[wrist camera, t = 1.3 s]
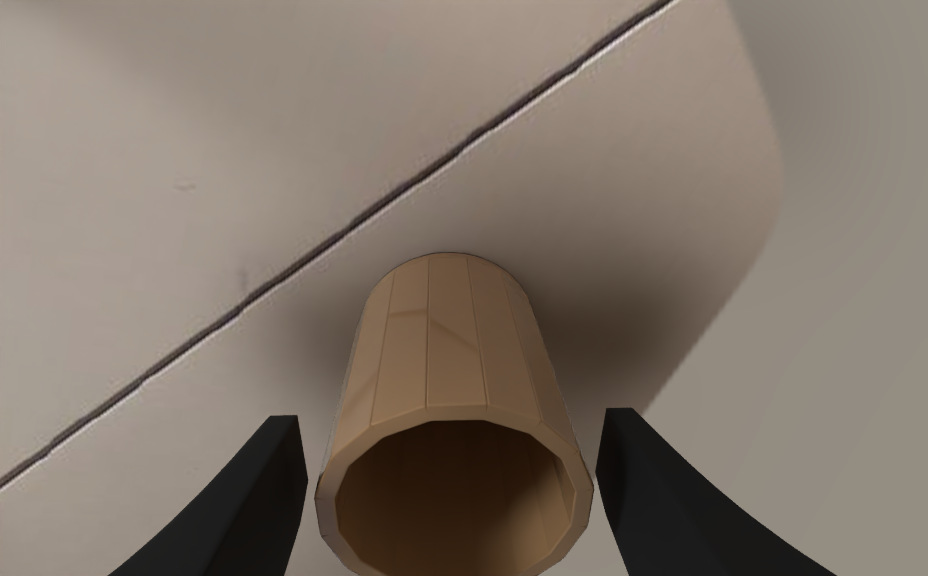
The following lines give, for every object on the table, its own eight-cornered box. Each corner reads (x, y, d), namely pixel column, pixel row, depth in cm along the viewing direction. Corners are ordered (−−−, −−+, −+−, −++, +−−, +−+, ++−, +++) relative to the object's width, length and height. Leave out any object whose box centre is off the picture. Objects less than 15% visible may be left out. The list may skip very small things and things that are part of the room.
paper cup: (528, 399, 18) (576, 593, 12) (366, 402, 18) (330, 604, 12) (540, 251, 16) (610, 401, 10) (353, 252, 15) (298, 408, 9)
